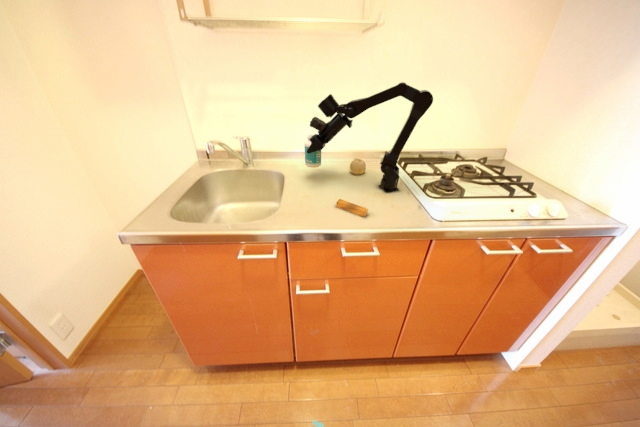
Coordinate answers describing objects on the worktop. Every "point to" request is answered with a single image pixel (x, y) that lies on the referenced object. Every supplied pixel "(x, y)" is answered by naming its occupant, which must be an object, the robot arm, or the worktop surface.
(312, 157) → the pill bottle
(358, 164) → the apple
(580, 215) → the worktop surface
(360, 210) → the fry stick
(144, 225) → the worktop surface
